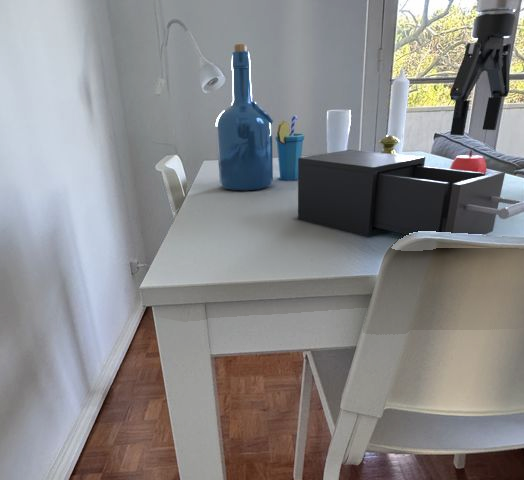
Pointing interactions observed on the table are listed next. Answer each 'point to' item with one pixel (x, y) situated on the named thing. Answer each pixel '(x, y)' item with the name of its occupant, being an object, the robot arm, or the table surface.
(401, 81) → the candle
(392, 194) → the drawer
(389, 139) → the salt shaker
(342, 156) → the cabinet
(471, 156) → the apple
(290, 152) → the cup
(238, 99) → the wine bottle
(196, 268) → the table surface
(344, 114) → the drinking glass
